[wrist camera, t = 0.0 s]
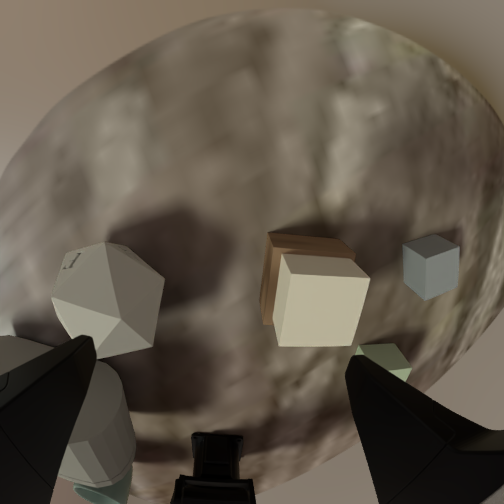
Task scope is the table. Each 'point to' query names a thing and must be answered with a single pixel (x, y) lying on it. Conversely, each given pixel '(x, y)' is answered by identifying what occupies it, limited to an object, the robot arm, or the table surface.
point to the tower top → (318, 300)
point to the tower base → (299, 247)
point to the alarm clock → (87, 421)
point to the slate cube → (431, 265)
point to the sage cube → (387, 358)
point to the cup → (107, 491)
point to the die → (108, 298)
